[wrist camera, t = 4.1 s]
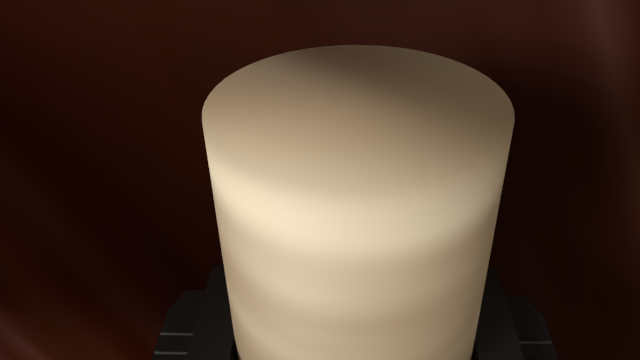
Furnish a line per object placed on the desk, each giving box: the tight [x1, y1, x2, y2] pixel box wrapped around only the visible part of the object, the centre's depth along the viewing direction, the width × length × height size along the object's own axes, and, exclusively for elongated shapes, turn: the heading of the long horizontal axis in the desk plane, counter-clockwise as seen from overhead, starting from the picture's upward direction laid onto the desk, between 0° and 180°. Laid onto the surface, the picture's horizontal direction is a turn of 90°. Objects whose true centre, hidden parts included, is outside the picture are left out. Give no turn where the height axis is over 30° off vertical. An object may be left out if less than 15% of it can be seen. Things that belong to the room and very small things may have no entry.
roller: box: [202, 45, 515, 360], centre depth 11 cm, size 10×4×4 cm, turn 1°
